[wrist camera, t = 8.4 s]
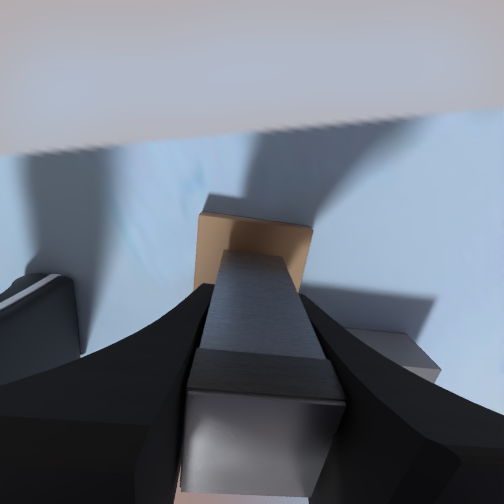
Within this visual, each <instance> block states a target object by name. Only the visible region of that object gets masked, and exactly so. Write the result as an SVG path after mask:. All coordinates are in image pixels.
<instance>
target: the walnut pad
mask: <svg viewBox="0 0 504 504" xmlns="http://www.w3.org/2000/svg"><path fill="white" fill-rule="evenodd" d="M312 234H313V230H312V229H311V228H310V227H309V226H304V225H296V224H289V223H282V222H275V221H268V220H260V219H253V218H246V217H239V216H231V215H224V214H217V213H210V212H203V211H202V212H201V213H200V214H199V218H198V233H197V247H196V261H195V275H194V290H195V289H197V288H198V287H199V286H200V285H201V284H202V283H208V284H215V283H216V279H217V275H218V271H219V267H220V262H221V258H222V254H223V250H224V249H227V250H235V251H243V252H251V253H259V254H267V255H275V256H282V257H283V259H284V262H285V264H286V266H287V269H288V271H289V273H290V276H291V278H292V280H293V283H294V285H295V287H296V290H297V292H299V288H300V284H301V280H302V276H303V271H304V267H305V263H306V259H307V255H308V251H309V246H310V242H311V238H312ZM194 290H193V291H194Z"/></svg>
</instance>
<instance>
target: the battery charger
mask: <svg viewBox="0 0 504 504" xmlns="http://www.w3.org/2000/svg"><path fill="white" fill-rule="evenodd" d="M79 358H80V346H79V335H78V324H77V315H76V307H75V298H74V291H73V284H72V280H71V279H70V278H68V277H64V276H62V275H60V274H50V275H48V274H30V275H26V276H22V277H20V278H18V279H16V280H15V281H14V282H13V283H12V285H11V286H10V287H9V288H8V289H7V290H5V291H4V292H3V293H1V294H0V386H1V385H4V384H7V383H10V382H13V381H16V380H19V379H22V378H25V377H28V376H31V375H34V374H37V373H40V372H43V371H47V370H50V369H53V368H55V367H58V366H61V365H64V364H66V363H69V362H71V361H74V360H77V359H79Z"/></svg>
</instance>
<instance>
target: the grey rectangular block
mask: <svg viewBox="0 0 504 504" xmlns="http://www.w3.org/2000/svg"><path fill="white" fill-rule="evenodd" d="M346 402H347V398H346V395H345V393H344V391H343V389H342V386H341V384H340V382H339V380H338V377H337V375H336V373H335V371H334V368H333V366H332V364H331V362H330V360H326V357H325V355H324V353H323V350H322V348H321V346H320V343H319V341H318V339H317V336H316V334H315V332H314V329H313V327H312V325H311V322H310V320H309V318H308V315H307V313H306V311H305V308H304V306H303V304H302V301H301V299H300V297H299V294H298V292H297V290H296V287H295V285H294V283H293V280H292V278H291V276H290V273H289V271H288V269H287V266H286V264H285V262H284V259H283V257H282V256H275V255H267V254H259V253H251V252H243V251H235V250H227V249H224V250H223V254H222V258H221V262H220V267H219V271H218V275H217V279H216V283H215V287H214V291H213V295H212V299H211V303H210V307H209V311H208V315H207V319H206V323H205V327H204V331H203V335H202V339H201V343H200V347H199V348H197V349H196V353H195V356H194V360H193V364H192V368H191V372H190V375H189V379H188V383H187V387H186V401H185V416H184V431H183V446H182V461H181V476H180V487H181V492H194V493H217V494H240V495H265V496H287V497H288V496H289V497H310V498H311V496H312V493H313V491H314V488H315V485H316V483H317V480H318V478H319V475H320V473H321V470H322V467H323V465H324V462H325V460H326V457H327V455H328V452H329V449H330V447H331V444H332V442H333V439H334V437H335V434H336V431H337V429H338V426H339V424H340V421H341V418H342V416H343V413H344V411H345V408H346Z"/></svg>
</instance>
